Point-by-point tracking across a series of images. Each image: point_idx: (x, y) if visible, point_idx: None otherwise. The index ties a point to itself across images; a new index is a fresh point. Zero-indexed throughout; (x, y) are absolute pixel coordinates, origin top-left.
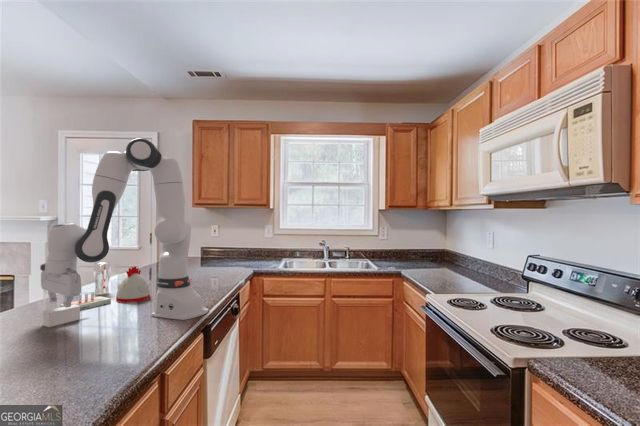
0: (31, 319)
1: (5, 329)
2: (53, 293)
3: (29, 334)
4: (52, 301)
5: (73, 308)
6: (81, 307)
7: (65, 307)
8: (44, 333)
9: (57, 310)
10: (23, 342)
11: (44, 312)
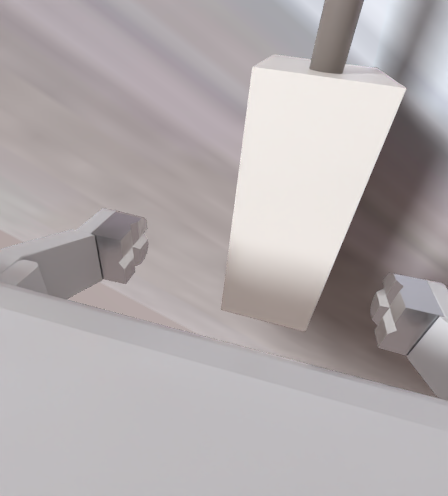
0: (79, 195)
1: (158, 312)
2: (41, 274)
3: (316, 341)
4: (139, 257)
5: (368, 167)
6: (353, 13)
7: (279, 198)
8: None
9: (303, 282)
10: None
11: (240, 310)
